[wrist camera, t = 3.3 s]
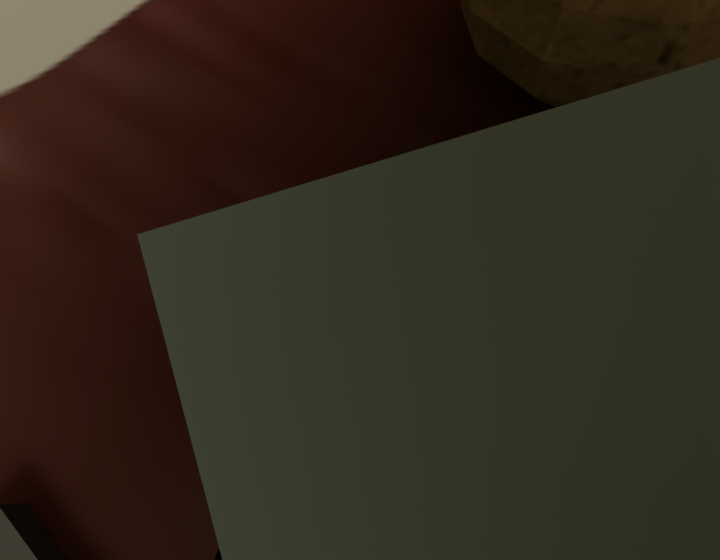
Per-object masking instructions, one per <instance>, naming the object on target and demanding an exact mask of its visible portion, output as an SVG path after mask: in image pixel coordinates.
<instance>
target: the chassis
mask: <svg viewBox="0 0 720 560" xmlns="http://www.w3.org/2000/svg"><path fill="white" fill-rule="evenodd" d="M0 560H67V558H66V557H65V555H64V554H63V553H62V551H61V550H60V549H59V547H58V546H57V545H56V543H55V542H54V541H53V539H52V538H51V537H50V535H49V534H48V533H47V531H46V530H45V528H44V527H43V526H42V524H41V523H40V522H39V520H38V519H37V518H36V516H35V515H34V514H33V512H32V511H31V510H30V508H29V507H28V505H27V504H26V503H18V504H6V505H0Z"/></svg>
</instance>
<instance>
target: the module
mask: <svg viewBox="0 0 720 560" xmlns="http://www.w3.org/2000/svg"><path fill="white" fill-rule="evenodd" d="M137 235H138V239H139V243H140V247H141V251H142V255H143V258H144V262H145V266H146V270H147V274H148V277H149V281H150V285H151V289H152V293H153V297H154V300H155V304H156V308H157V312H158V316H159V320H160V323H161V327H162V331H163V335H164V339H165V343H166V346H167V350H168V354H169V358H170V362H171V365H172V369H173V373H174V377H175V381H176V385H177V388H178V392H179V396H180V400H181V404H182V408H183V411H184V415H185V419H186V423H187V427H188V430H189V434H190V438H191V442H192V446H193V450H194V453H195V457H196V461H197V465H198V469H199V473H200V476H201V480H202V484H203V488H204V492H205V496H206V499H207V503H208V507H209V511H210V515H211V518H212V522H213V526H214V530H215V534H216V538H217V541H218V545H219V549H220V553H221V557H222V560H720V58H718V59H714V60H711V61H708V62H705V63H701V64H698V65H695V66H691V67H688V68H685V69H681V70H678V71H675V72H672V73H668V74H665V75H662V76H658V77H655V78H652V79H648V80H645V81H642V82H639V83H635V84H632V85H629V86H625V87H622V88H619V89H615V90H612V91H609V92H606V93H602V94H599V95H596V96H592V97H589V98H586V99H582V100H579V101H576V102H573V103H569V104H566V105H563V106H559V107H556V108H553V109H549V110H546V111H543V112H540V113H536V114H533V115H530V116H526V117H523V118H520V119H516V120H513V121H510V122H507V123H503V124H500V125H497V126H493V127H490V128H487V129H483V130H480V131H477V132H474V133H470V134H467V135H464V136H460V137H457V138H454V139H450V140H447V141H444V142H441V143H437V144H434V145H431V146H427V147H424V148H421V149H417V150H414V151H411V152H408V153H404V154H401V155H398V156H394V157H391V158H388V159H384V160H381V161H378V162H375V163H371V164H368V165H365V166H361V167H358V168H355V169H351V170H348V171H345V172H342V173H338V174H335V175H332V176H328V177H325V178H322V179H319V180H315V181H312V182H309V183H305V184H302V185H299V186H295V187H292V188H289V189H286V190H282V191H279V192H276V193H272V194H269V195H266V196H262V197H259V198H256V199H253V200H249V201H246V202H243V203H239V204H236V205H233V206H229V207H226V208H223V209H220V210H216V211H213V212H210V213H206V214H203V215H200V216H196V217H193V218H190V219H187V220H183V221H180V222H177V223H173V224H170V225H167V226H163V227H160V228H157V229H154V230H150V231H147V232H144V233H140V234H137Z"/></svg>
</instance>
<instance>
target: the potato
mask: <svg viewBox="0 0 720 560" xmlns="http://www.w3.org/2000/svg"><path fill="white" fill-rule="evenodd" d="M461 10H462V13H463V15H464V18H465V21H466V24H467V27H468V30H469V33H470V35H471V38H472V41H473V44H474V47H475V50H476V53H477V55H479V56H480V57H481V58H483V59H484V60H485V61H487V62H488V63H489V64H491V65H492V66H493V67H495V68H496V69H497V70H499V71H500V72H501V73H503V74H504V75H505V76H507V77H508V78H509V79H511V80H512V81H513V82H515V83H516V84H517V85H519V86H520V87H521V88H523V89H524V90H525V91H527V92H528V93H529V94H531V95H532V96H533V97H535V98H536V99H537V100H539V101H541V102H544V103H546V104H549V105H551V106H554V107H559V106H563V105H566V104H569V103H573V102H576V101H579V100H582V99H586V98H589V97H592V96H596V95H599V94H602V93H606V92H609V91H612V90H615V89H619V88H622V87H625V86H629V85H632V84H635V83H639V82H642V81H645V80H648V79H652V78H655V77H658V76H662V75H665V74H668V73H672V72H675V71H678V70H681V69H685V68H688V67H691V66H695V65H698V64H701V63H705V62H708V61H711V60H714V59H718V58H720V0H461Z"/></svg>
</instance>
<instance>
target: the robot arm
mask: <svg viewBox="0 0 720 560" xmlns="http://www.w3.org/2000/svg"><path fill="white" fill-rule="evenodd" d="M215 560H222V557H221V553H220V549H218V552H217V554H216V557H215Z"/></svg>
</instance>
